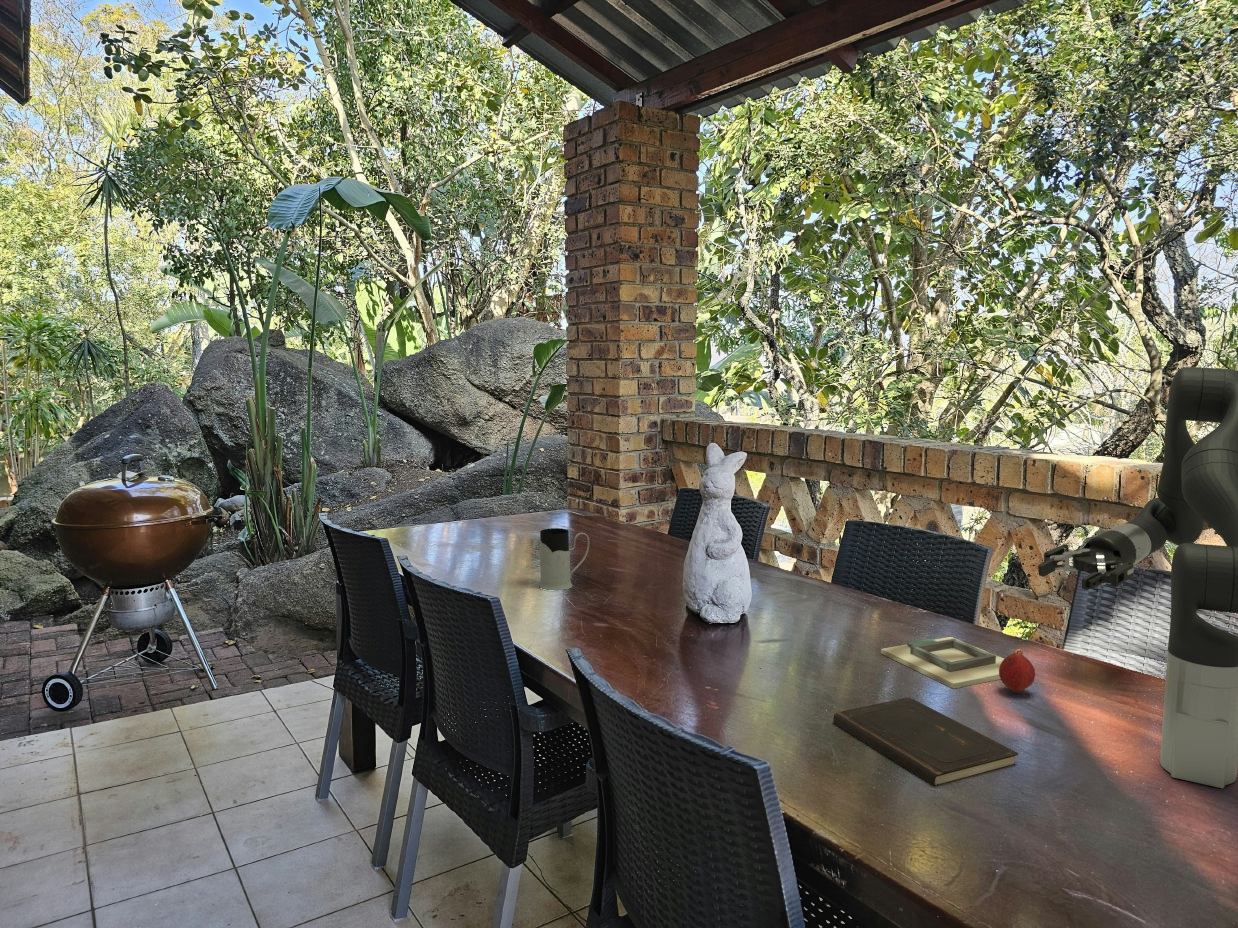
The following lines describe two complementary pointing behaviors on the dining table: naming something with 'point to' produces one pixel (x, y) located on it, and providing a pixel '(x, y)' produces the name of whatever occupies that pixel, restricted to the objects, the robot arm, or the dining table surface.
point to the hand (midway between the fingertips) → (1061, 578)
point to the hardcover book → (924, 740)
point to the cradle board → (948, 661)
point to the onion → (1017, 672)
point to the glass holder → (556, 558)
